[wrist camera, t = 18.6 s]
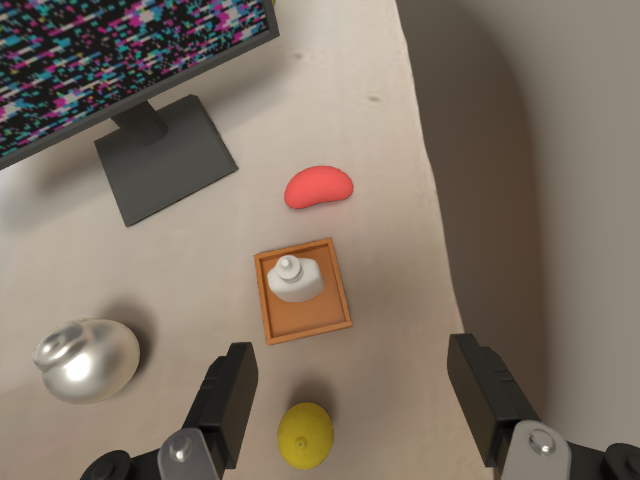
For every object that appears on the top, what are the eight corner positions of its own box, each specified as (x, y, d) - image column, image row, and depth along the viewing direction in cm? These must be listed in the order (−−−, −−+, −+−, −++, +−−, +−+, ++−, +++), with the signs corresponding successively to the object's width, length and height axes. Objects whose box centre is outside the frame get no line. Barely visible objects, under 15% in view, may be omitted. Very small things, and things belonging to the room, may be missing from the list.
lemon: (341, 407, 35) (339, 422, 28) (326, 462, 34) (320, 493, 26) (295, 390, 36) (281, 400, 29) (278, 443, 35) (259, 468, 27)
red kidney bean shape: (296, 178, 47) (274, 172, 42) (352, 163, 44) (336, 154, 38) (302, 212, 47) (280, 210, 42) (358, 200, 44) (342, 196, 38)
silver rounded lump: (150, 308, 41) (92, 295, 32) (159, 384, 38) (97, 395, 28) (83, 331, 41) (4, 324, 31) (86, 409, 37) (-1, 428, 28)
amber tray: (351, 327, 38) (352, 325, 36) (270, 345, 38) (266, 344, 36) (331, 242, 42) (331, 237, 40) (257, 259, 42) (253, 255, 40)
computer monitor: (43, 273, 44) (-1734, -197, 6) (23, 187, 49) (-1004, -341, 12) (313, 131, 48) (198, -627, 11) (267, 67, 54) (84, -589, 16)
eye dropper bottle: (286, 267, 41) (263, 234, 30) (328, 277, 40) (320, 247, 29) (276, 299, 39) (248, 278, 28) (319, 310, 39) (308, 293, 27)
